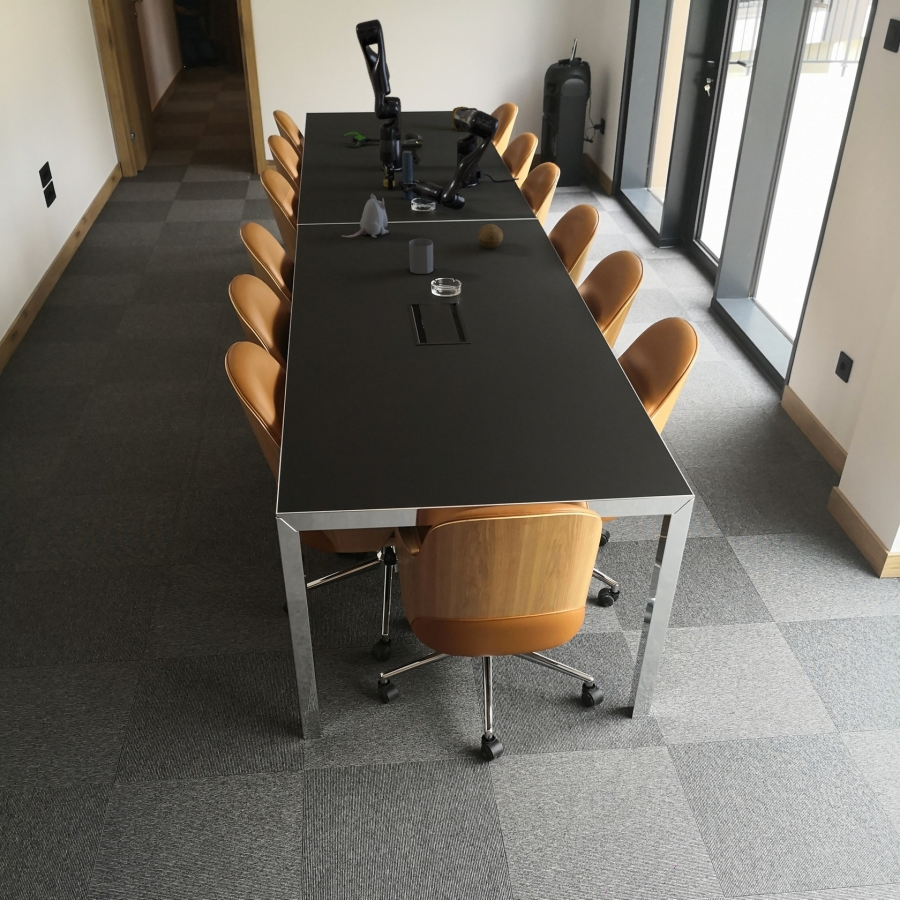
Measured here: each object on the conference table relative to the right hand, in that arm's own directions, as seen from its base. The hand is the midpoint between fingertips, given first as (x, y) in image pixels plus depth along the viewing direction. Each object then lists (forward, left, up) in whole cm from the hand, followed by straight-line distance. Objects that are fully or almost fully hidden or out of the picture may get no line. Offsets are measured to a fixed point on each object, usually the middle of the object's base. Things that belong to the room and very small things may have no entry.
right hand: (404, 182), depth 380 cm
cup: (+50, +75, -6) cm, 90 cm away
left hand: (-3, -15, -6) cm, 16 cm away
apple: (-102, -81, -6) cm, 131 cm away
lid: (-3, -15, -3) cm, 15 cm away
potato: (+15, +73, -6) cm, 74 cm away
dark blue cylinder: (0, +3, -6) cm, 7 cm away
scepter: (-43, -86, -6) cm, 96 cm away
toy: (+45, +34, -6) cm, 57 cm away
